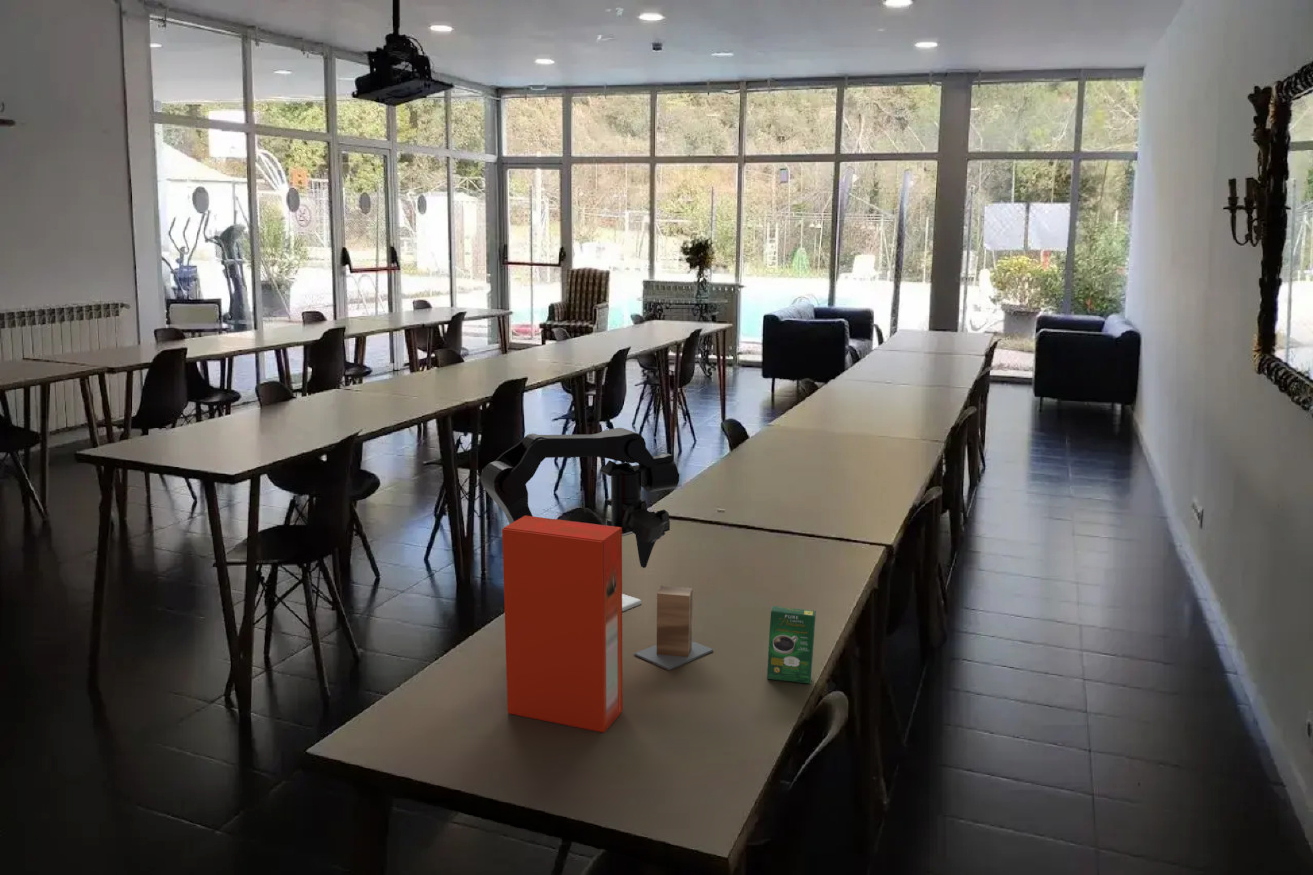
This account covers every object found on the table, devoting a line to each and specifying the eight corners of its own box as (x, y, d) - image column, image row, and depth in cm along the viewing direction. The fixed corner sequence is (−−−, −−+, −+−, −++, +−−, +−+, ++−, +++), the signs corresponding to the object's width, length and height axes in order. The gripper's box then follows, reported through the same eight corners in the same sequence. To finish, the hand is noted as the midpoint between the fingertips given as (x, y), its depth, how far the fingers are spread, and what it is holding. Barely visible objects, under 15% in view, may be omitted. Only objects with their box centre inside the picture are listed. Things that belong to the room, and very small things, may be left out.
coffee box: (813, 678, 182) (816, 608, 179) (812, 685, 179) (815, 614, 177) (768, 673, 184) (770, 604, 181) (766, 680, 181) (768, 610, 178)
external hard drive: (572, 613, 213) (612, 597, 222) (600, 623, 208) (641, 606, 217) (572, 605, 212) (612, 589, 222) (600, 615, 207) (641, 599, 216)
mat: (668, 670, 185) (668, 668, 185) (634, 655, 191) (634, 653, 191) (713, 651, 193) (713, 649, 193) (678, 637, 199) (678, 635, 199)
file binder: (602, 734, 162) (601, 541, 155) (506, 714, 168) (502, 528, 161) (622, 711, 169) (622, 526, 162) (530, 693, 175) (526, 514, 168)
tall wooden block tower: (688, 656, 189) (689, 595, 187) (656, 654, 190) (657, 593, 188) (691, 648, 193) (692, 588, 191) (660, 645, 194) (661, 586, 192)
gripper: (619, 513, 182) (619, 596, 185) (690, 493, 194) (689, 571, 198) (578, 501, 189) (579, 581, 192) (649, 483, 202) (649, 558, 205)
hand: (626, 573), depth 197 cm, fingers open, 9 cm apart
